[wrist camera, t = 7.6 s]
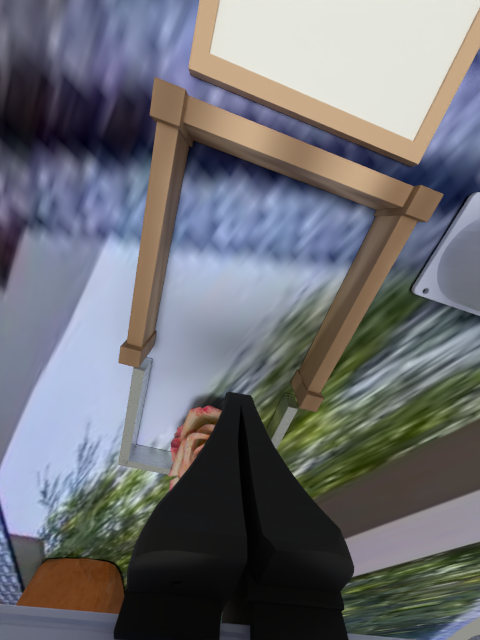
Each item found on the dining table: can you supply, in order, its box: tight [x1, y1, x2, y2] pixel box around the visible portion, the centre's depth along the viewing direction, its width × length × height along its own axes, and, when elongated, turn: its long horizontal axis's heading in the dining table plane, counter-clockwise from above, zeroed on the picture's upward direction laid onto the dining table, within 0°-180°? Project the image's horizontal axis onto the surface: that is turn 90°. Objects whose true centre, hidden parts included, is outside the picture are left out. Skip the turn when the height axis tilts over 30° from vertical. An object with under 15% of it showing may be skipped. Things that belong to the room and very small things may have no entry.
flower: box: [169, 406, 222, 491], centre depth 23 cm, size 9×9×7 cm
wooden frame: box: [119, 77, 444, 412], centre depth 18 cm, size 17×18×4 cm
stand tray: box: [118, 357, 298, 477], centre depth 25 cm, size 16×14×2 cm
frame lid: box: [189, 0, 480, 167], centre depth 13 cm, size 16×9×1 cm, turn 72°
